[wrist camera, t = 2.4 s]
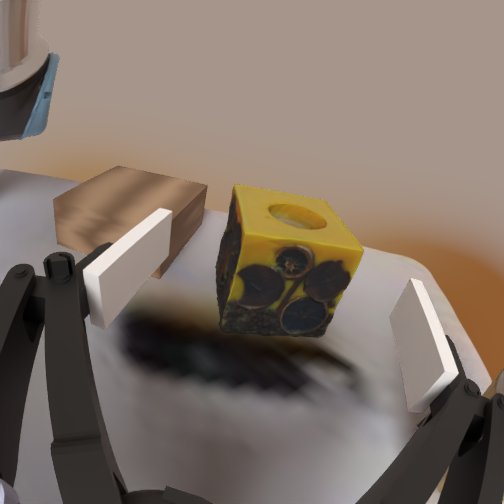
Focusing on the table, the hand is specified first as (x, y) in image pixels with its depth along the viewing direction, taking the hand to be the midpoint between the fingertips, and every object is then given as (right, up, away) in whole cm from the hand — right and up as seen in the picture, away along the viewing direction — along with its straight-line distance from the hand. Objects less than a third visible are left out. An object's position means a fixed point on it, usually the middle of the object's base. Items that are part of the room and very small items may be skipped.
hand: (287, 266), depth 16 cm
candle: (-1, -4, +15) cm, 16 cm away
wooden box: (-17, +3, +21) cm, 27 cm away
